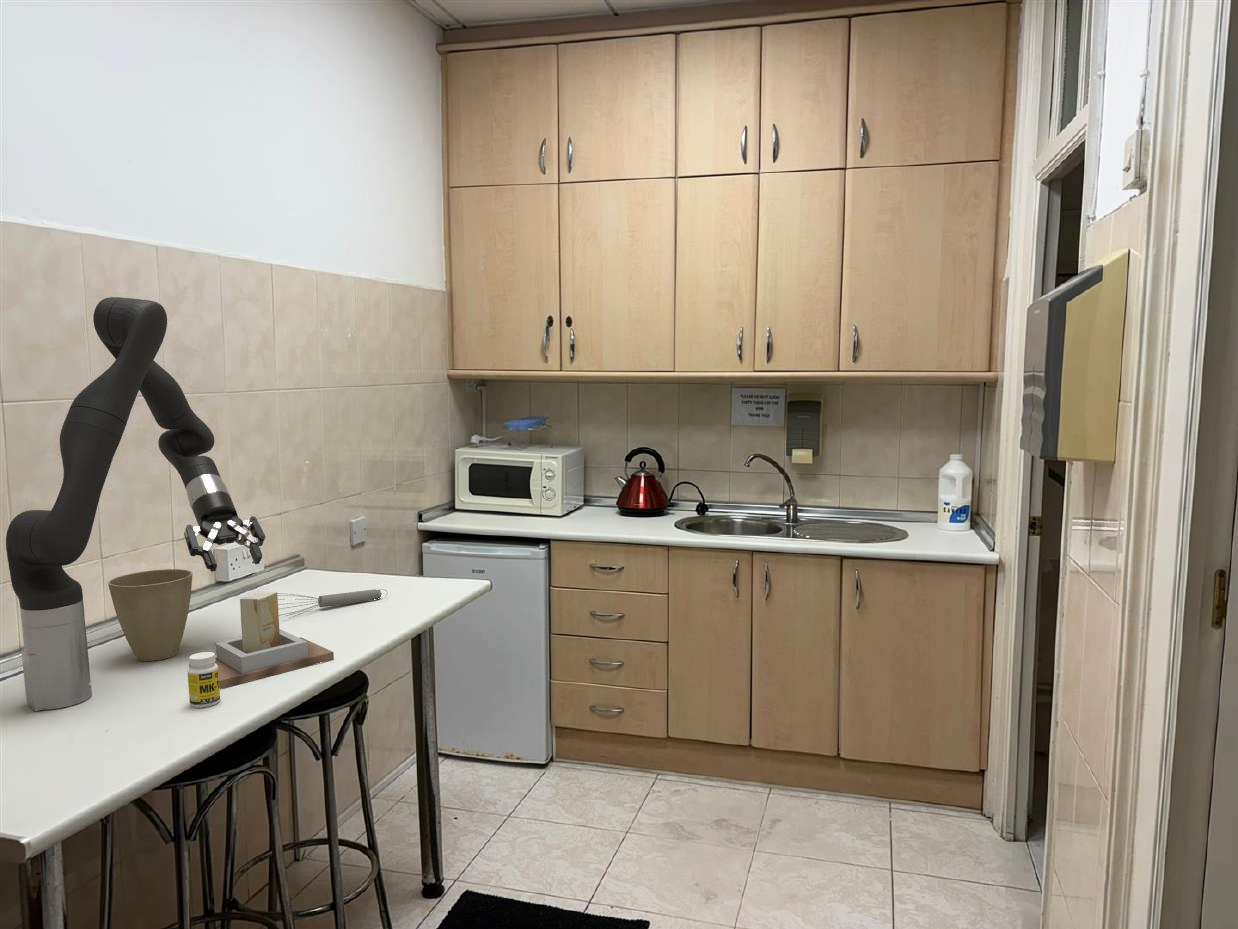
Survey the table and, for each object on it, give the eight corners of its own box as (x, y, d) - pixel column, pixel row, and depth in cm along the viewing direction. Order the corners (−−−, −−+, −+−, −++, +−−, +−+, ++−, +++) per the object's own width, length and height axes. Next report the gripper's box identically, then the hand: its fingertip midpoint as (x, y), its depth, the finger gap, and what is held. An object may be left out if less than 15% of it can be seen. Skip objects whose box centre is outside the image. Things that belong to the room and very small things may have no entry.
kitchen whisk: (393, 600, 222) (391, 574, 221) (251, 630, 201) (248, 601, 200) (382, 595, 227) (380, 570, 226) (241, 624, 205) (239, 596, 204)
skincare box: (263, 663, 172) (258, 599, 170) (242, 662, 173) (237, 598, 171) (282, 652, 178) (278, 590, 177) (262, 651, 179) (258, 590, 178)
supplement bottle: (200, 710, 153) (197, 661, 152) (184, 705, 156) (180, 657, 155) (226, 701, 157) (223, 653, 156) (209, 696, 160) (206, 649, 159)
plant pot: (214, 649, 186) (208, 572, 184) (146, 672, 173) (139, 589, 171) (166, 640, 193) (160, 565, 191) (98, 661, 180) (90, 581, 178)
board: (218, 689, 163) (217, 681, 163) (189, 671, 173) (189, 663, 173) (333, 659, 178) (333, 652, 178) (301, 644, 188) (301, 637, 188)
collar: (242, 673, 166) (241, 657, 166) (216, 658, 175) (215, 643, 175) (308, 657, 175) (307, 641, 175) (280, 643, 184) (279, 628, 184)
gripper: (177, 494, 180) (203, 560, 173) (250, 486, 190) (277, 548, 183) (170, 517, 184) (195, 583, 177) (241, 508, 194) (267, 570, 187)
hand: (236, 565), depth 180 cm, fingers open, 8 cm apart
